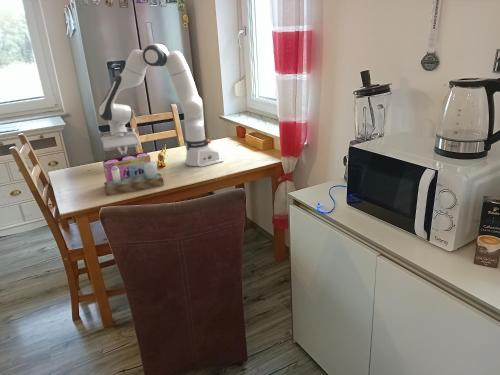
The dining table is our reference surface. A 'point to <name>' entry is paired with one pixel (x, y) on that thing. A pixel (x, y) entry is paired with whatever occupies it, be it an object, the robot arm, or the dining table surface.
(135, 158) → the gum box
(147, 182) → the podium
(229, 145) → the dining table surface
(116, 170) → the shaker
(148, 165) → the white short cylinder
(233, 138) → the dining table surface
